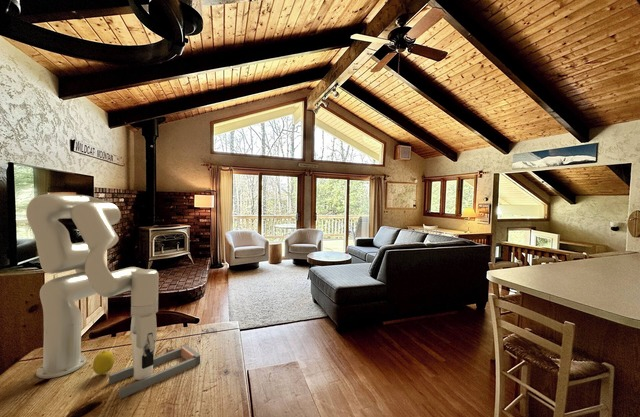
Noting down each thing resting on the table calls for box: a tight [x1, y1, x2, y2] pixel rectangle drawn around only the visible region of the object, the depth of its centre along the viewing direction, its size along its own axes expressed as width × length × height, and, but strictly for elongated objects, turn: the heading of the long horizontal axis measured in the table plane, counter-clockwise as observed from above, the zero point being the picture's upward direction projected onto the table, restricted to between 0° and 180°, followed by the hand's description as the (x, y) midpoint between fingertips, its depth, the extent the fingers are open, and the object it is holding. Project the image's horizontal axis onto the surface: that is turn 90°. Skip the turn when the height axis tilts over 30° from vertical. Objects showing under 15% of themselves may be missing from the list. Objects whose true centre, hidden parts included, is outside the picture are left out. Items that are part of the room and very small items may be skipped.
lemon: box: [92, 350, 115, 376], centre depth 91 cm, size 6×6×8 cm
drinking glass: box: [131, 332, 157, 381], centre depth 90 cm, size 7×7×15 cm
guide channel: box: [108, 344, 201, 399], centre depth 93 cm, size 11×24×3 cm, turn 141°
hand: (143, 361), depth 90 cm, fingers closed on drinking glass, 6 cm apart
